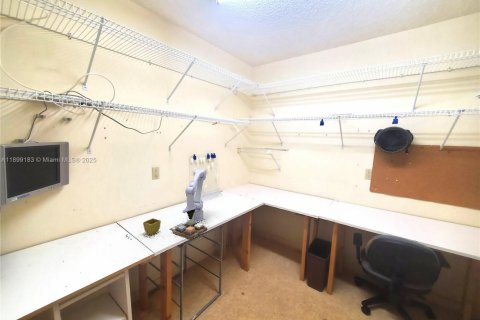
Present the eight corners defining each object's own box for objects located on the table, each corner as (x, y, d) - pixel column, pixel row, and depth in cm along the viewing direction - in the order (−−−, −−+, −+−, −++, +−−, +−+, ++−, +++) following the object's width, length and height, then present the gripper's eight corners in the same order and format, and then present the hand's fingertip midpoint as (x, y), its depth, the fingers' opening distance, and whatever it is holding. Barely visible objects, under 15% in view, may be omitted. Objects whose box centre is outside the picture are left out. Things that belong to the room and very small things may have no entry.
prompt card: (181, 223, 160) (181, 223, 160) (184, 224, 158) (184, 224, 158) (169, 229, 150) (169, 228, 150) (173, 230, 148) (173, 230, 148)
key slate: (182, 228, 148) (182, 225, 148) (186, 229, 146) (186, 226, 146) (177, 230, 145) (177, 227, 144) (181, 231, 142) (181, 228, 142)
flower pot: (142, 234, 142) (142, 222, 141) (152, 229, 149) (152, 217, 148) (151, 237, 138) (151, 224, 137) (161, 232, 146) (161, 220, 145)
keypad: (189, 224, 160) (189, 220, 159) (207, 229, 151) (207, 225, 151) (172, 233, 144) (172, 228, 144) (190, 240, 135) (190, 235, 135)
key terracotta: (189, 229, 144) (189, 226, 144) (194, 230, 142) (194, 227, 142) (185, 231, 141) (185, 228, 140) (190, 233, 138) (190, 230, 138)
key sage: (190, 222, 156) (190, 219, 156) (194, 223, 154) (194, 220, 154) (186, 224, 152) (186, 221, 152) (190, 225, 150) (190, 222, 150)
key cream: (198, 226, 152) (198, 223, 152) (202, 227, 150) (202, 224, 150) (194, 228, 149) (194, 225, 148) (198, 229, 146) (198, 226, 146)
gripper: (193, 198, 159) (193, 214, 161) (179, 203, 147) (179, 221, 148) (199, 200, 156) (199, 216, 157) (186, 205, 143) (186, 223, 145)
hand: (190, 219), depth 153 cm, fingers closed
